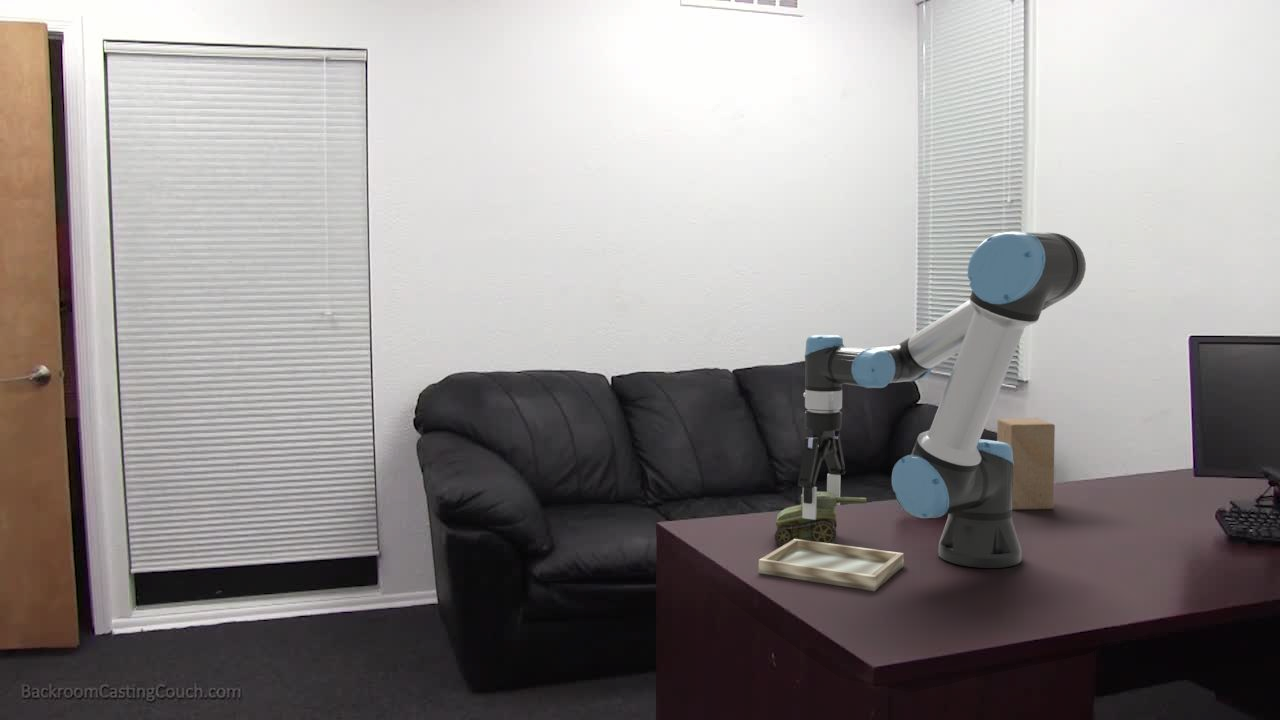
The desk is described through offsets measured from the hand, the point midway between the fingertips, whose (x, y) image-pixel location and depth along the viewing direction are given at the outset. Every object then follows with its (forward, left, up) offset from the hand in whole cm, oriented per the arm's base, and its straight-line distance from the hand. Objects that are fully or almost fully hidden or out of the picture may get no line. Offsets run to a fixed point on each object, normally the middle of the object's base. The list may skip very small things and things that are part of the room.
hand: (821, 511), depth 205 cm
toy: (0, 0, -6) cm, 6 cm away
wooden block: (-30, -52, -6) cm, 60 cm away
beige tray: (-9, +19, -6) cm, 22 cm away
